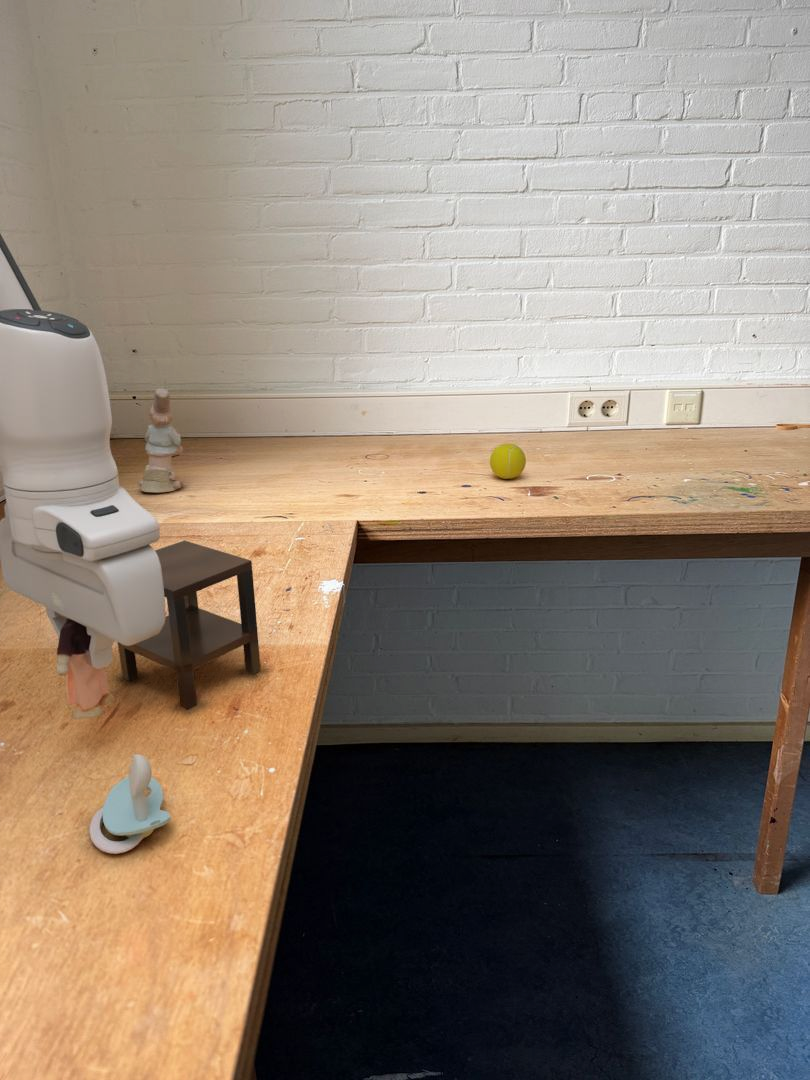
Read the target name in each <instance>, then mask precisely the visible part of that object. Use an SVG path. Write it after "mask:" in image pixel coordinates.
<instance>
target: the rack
mask: <svg viewBox="0 0 810 1080" xmlns="http://www.w3.org/2000/svg"><path fill="white" fill-rule="evenodd" d="M154 550H155V552H156V553H157V555H158V558H159V561H160V564H161V570H162V577H163V585H164V596H165V599H166V604H167V612H168V615H166V618H165V624H164V626H163V628H162V630H161V631H160V633H159V634H157V635H155V636H153V637H151V638H149V639H146V640H144V641H141V642H139V643H136V644H134V645H130V646H125V645H122V644H121V643H119V642H117V641H116V642H117V648H118V655H119V661H120V668H121V676H122V679H123V680H125V681H128V682H131V681H133V680H135V679H138V678H139V672H138V665H137V664H138V663H137V657H136V654H137V655H138V656H141V657H143V658H145V659H147V660H150V661H152V662H153V663H157V664H158V665H161V666H163V667H165V668H167V669H169V670H172V671H174V672H175V676H176V684H177V685H176V686H177V693H178V701H179V707H180V708H182V709H185V710H187V711H189V710H190V709H192V708H194V707H197V705H198V703H197V695H196V685H195V677H194V671H195V670H196V669H198V668H200V667H202V666H204V665H206V664H208V663H210V662H212V661H214V660H216V659H218V658H220V657H222V656H225V655H226V654H228V653H231V652H232V651H234V650H237V649H238V648H240V647H243V659H244V668H245V669H244V670H245V673H248V674H250V675H251V676H254V675H255V674H257V673H259V672H261V670H262V667H261V657H260V646H259V634H258V633H259V632H258V621H257V609H256V597H255V586H254V573H253V563H252V560H251V559H247V558H244V557H241V556H237V555H235V554H231V553H227V552H224V551H221V550H218V549H214V548H211V547H209V546H204V545H201V544H198V543H194V542H191V541H188V540H185V539H184V540H182V541H179V542H176V543H173V544H170V545H167V546H164V547H161V548H158V549H154ZM234 577H236V582H237V593H238V603H239V604H238V605H239V615H240V622H238V621H235V620H232V619H229V618H227V617H224V616H221V615H219V614H216V613H213V612H211V611H207V610H206V609H202V608H200V607H199V602H198V601H199V599H198V592H199V591H201V590H204V589H206V588H209V587H212V586H214V585H216V584H219V583H221V582H223V581H227V580H228V579H230V578H234Z"/></svg>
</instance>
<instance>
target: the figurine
mask: <svg viewBox="0 0 810 1080" xmlns="http://www.w3.org/2000/svg"><path fill="white" fill-rule="evenodd" d="M170 396H171V395H170V392H169V390H168V389H166V388H162V387H159V388H157V389H156V390H155V391H154V397H153V404H152V405H151V408H150V410H149V412H148V415H149V420H150V421H151V424H149V425H148V427H147V430H146V433H145V436H144V441H145V442H146V445H145V447H144V448H145V449H144V450H145V451H146V454H147V455H148V463H147V464H146V466H145V469H144V471H143V473H142V479H141V480H139V481H138V486H139V489H140V491H142V492H143V493H157V494H158V493H167V492H173V491H177V490H179V489H181V487H182V484H181V481H180V480H178V478H177V476H176V472H175V470H174V469H173V466H172V457H174V456H179V455H180V454H182V453H183V452H184V448H183V446H182V438H181V434H180V432H177V429H176V428H175V427H173V426H172V425H171V422H172V420H173V411H172V408H171V405H170V401H171V400H170V399H171V398H170Z"/></svg>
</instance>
